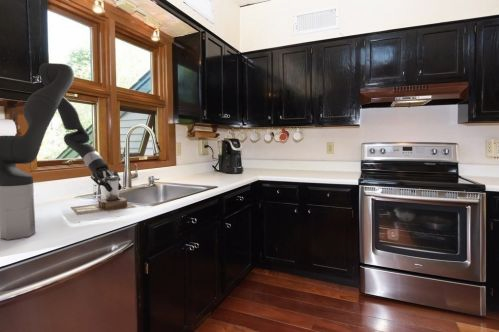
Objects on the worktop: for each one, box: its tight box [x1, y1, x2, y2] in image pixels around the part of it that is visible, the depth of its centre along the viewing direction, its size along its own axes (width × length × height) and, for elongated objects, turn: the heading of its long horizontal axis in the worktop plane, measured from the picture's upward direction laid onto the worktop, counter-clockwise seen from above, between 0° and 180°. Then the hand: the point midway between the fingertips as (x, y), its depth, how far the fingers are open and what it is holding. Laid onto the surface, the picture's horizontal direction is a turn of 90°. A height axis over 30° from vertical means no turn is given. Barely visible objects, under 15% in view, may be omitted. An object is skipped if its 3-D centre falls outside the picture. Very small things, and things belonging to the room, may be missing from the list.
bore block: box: [70, 196, 137, 216], centre depth 131 cm, size 18×24×4 cm
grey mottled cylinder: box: [106, 175, 120, 202], centre depth 133 cm, size 6×6×12 cm
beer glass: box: [98, 180, 107, 199], centre depth 153 cm, size 7×7×15 cm
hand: (115, 189), depth 132 cm, fingers closed on grey mottled cylinder, 5 cm apart
